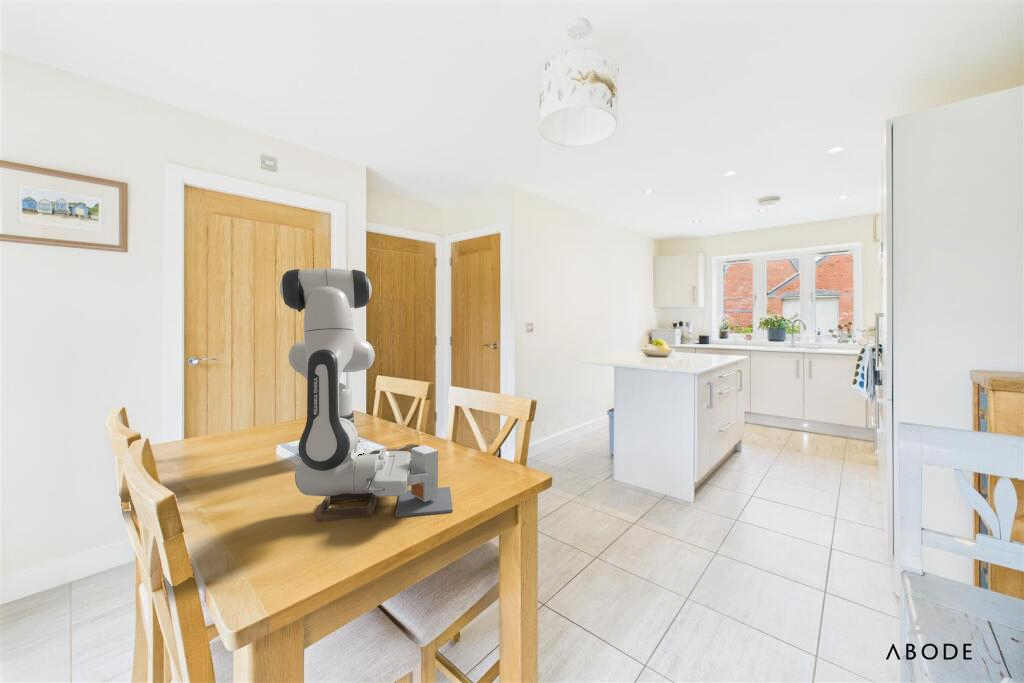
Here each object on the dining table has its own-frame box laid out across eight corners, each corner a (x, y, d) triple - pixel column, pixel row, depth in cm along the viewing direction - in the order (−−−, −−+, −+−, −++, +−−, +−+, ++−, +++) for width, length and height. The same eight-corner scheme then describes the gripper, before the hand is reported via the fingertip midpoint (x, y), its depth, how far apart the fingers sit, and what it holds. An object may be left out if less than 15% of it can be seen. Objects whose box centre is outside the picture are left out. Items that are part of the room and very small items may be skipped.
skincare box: (410, 495, 98) (410, 448, 98) (424, 489, 102) (424, 444, 101) (424, 502, 94) (424, 453, 94) (438, 497, 97) (438, 449, 97)
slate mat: (400, 493, 103) (400, 490, 103) (449, 489, 106) (449, 486, 106) (395, 517, 90) (395, 514, 90) (452, 512, 93) (452, 509, 93)
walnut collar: (327, 501, 98) (327, 493, 98) (377, 497, 101) (377, 489, 100) (316, 521, 88) (315, 512, 88) (371, 516, 91) (371, 508, 91)
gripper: (362, 478, 85) (427, 473, 88) (375, 447, 105) (428, 445, 108) (362, 506, 85) (427, 501, 88) (375, 470, 105) (428, 467, 108)
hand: (428, 470), depth 98 cm, fingers closed on skincare box, 7 cm apart
